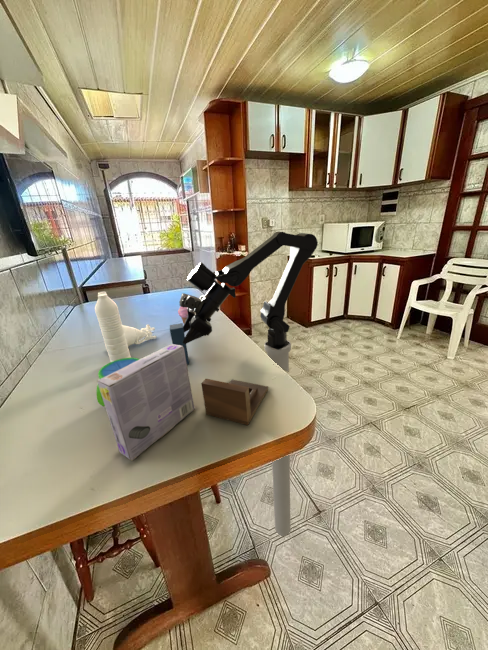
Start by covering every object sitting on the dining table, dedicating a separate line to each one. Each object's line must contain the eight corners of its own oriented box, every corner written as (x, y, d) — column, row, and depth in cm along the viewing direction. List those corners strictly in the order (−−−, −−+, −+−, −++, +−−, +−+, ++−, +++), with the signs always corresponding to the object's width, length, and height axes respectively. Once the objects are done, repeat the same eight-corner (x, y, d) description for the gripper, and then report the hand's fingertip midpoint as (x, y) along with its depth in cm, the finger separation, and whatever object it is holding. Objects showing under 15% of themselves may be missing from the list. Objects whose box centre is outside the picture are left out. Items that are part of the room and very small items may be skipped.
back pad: (188, 358, 91) (182, 323, 86) (189, 364, 87) (183, 327, 82) (176, 360, 90) (169, 325, 85) (176, 366, 86) (169, 329, 81)
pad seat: (231, 382, 76) (228, 354, 72) (268, 389, 71) (267, 360, 68) (206, 414, 64) (201, 383, 61) (248, 425, 60) (245, 392, 56)
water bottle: (110, 361, 93) (89, 291, 83) (130, 356, 95) (112, 288, 86) (112, 372, 85) (89, 298, 76) (133, 366, 88) (114, 293, 79)
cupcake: (177, 325, 120) (173, 304, 116) (194, 320, 125) (190, 299, 121) (187, 330, 113) (183, 308, 109) (204, 324, 118) (201, 303, 114)
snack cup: (139, 379, 80) (131, 350, 77) (165, 388, 76) (157, 356, 72) (90, 412, 68) (78, 378, 64) (118, 424, 63) (106, 389, 59)
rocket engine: (155, 313, 107) (106, 316, 96) (163, 337, 103) (113, 343, 91) (148, 329, 115) (102, 333, 104) (155, 352, 110) (108, 359, 99)
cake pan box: (185, 400, 70) (173, 339, 63) (199, 406, 67) (188, 343, 60) (117, 452, 55) (93, 381, 49) (132, 463, 53) (108, 389, 46)
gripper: (190, 278, 89) (162, 314, 91) (195, 291, 72) (160, 335, 74) (216, 297, 93) (188, 331, 95) (226, 314, 76) (193, 355, 78)
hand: (183, 337), depth 85 cm, fingers open, 9 cm apart
